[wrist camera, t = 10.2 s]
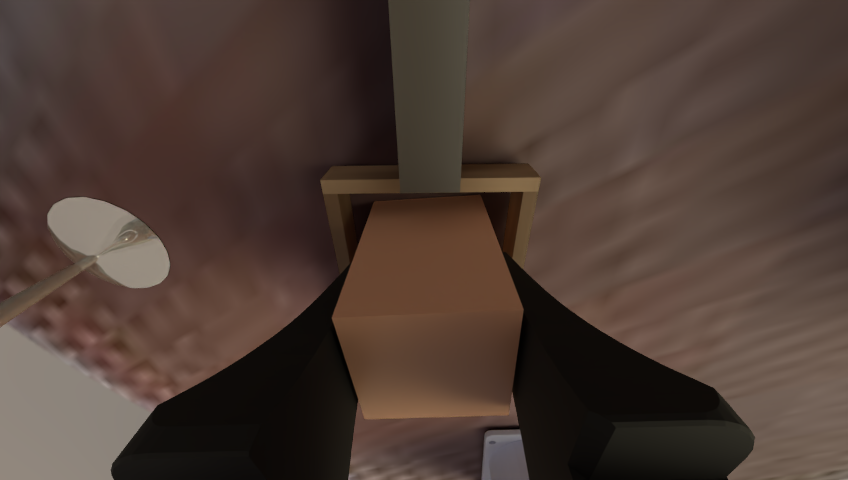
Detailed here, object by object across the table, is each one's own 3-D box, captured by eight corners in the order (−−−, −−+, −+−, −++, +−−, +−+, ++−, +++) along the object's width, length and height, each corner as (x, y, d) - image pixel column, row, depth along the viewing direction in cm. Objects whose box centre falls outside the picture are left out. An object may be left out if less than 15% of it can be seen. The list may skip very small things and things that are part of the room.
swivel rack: (581, -153, 7) (653, -248, 5) (503, 307, 15) (517, 352, 13) (275, -143, 7) (207, -232, 5) (357, 308, 15) (345, 353, 13)
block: (478, 278, 15) (508, 415, 9) (388, 282, 15) (364, 419, 9) (480, 194, 12) (523, 309, 7) (374, 201, 12) (331, 317, 7)
